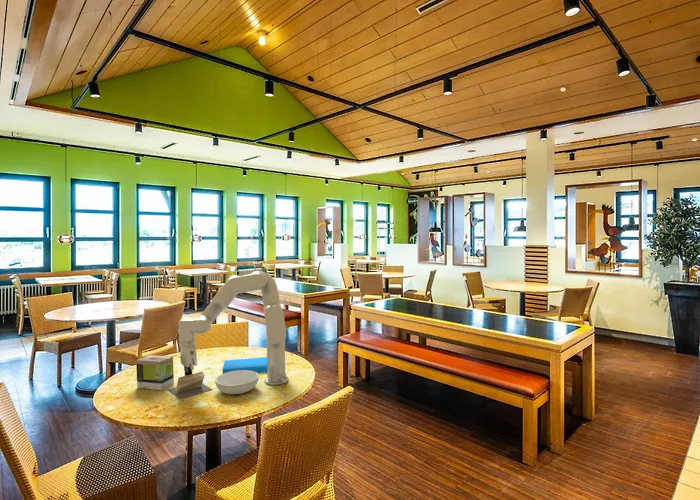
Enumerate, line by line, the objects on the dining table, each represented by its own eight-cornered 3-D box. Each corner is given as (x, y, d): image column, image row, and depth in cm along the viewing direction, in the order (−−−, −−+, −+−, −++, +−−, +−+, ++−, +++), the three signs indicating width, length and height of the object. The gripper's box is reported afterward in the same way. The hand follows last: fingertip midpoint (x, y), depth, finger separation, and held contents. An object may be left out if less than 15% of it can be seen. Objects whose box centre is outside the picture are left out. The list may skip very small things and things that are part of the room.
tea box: (174, 383, 213) (173, 356, 212) (160, 391, 203) (160, 362, 202) (150, 381, 217) (149, 354, 216) (136, 388, 207) (135, 359, 206)
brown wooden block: (201, 386, 207) (204, 374, 204) (177, 393, 199) (180, 381, 196) (199, 382, 209) (202, 371, 205) (175, 389, 200) (178, 377, 197)
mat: (212, 390, 203) (212, 389, 203) (180, 399, 192) (180, 398, 192) (198, 382, 215) (198, 381, 215) (167, 390, 203) (167, 389, 203)
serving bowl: (214, 386, 209) (214, 373, 209) (256, 380, 216) (255, 367, 216) (216, 402, 189) (216, 387, 189) (261, 395, 197) (261, 381, 196)
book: (224, 360, 240) (267, 356, 246) (224, 367, 240) (267, 363, 246) (222, 369, 223) (268, 365, 229) (222, 377, 223) (268, 372, 229)
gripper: (201, 344, 200) (202, 381, 201) (189, 338, 211) (190, 373, 212) (185, 347, 195) (187, 385, 196) (174, 341, 206) (175, 377, 207)
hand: (188, 379), depth 204 cm, fingers closed
